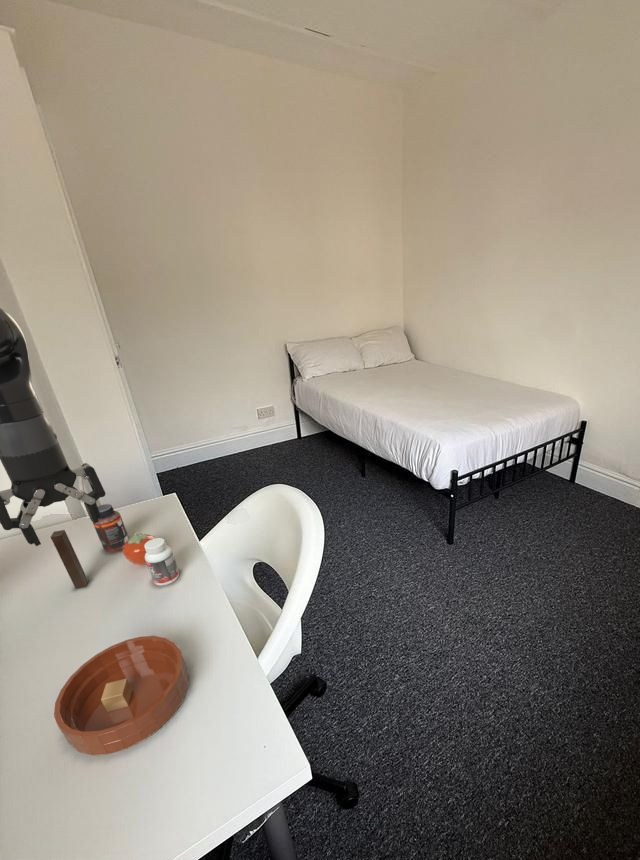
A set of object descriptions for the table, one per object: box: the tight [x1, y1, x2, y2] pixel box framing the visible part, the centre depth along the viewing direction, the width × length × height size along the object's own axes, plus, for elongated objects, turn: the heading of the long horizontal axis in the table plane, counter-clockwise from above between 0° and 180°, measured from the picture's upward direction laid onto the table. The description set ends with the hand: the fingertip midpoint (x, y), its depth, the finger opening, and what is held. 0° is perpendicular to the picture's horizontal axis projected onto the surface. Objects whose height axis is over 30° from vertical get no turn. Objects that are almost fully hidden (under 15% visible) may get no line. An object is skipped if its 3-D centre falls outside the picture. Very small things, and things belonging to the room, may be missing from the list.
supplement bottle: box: [92, 503, 130, 553], centre depth 103 cm, size 6×6×11 cm
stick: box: [50, 529, 89, 590], centre depth 89 cm, size 2×2×14 cm
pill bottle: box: [144, 537, 180, 586], centre depth 91 cm, size 5×5×10 cm
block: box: [101, 678, 132, 712], centre depth 66 cm, size 3×3×3 cm
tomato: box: [121, 532, 156, 566], centre depth 98 cm, size 7×7×8 cm
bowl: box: [53, 635, 190, 756], centre depth 66 cm, size 17×17×5 cm
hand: (67, 532), depth 71 cm, fingers open, 8 cm apart
